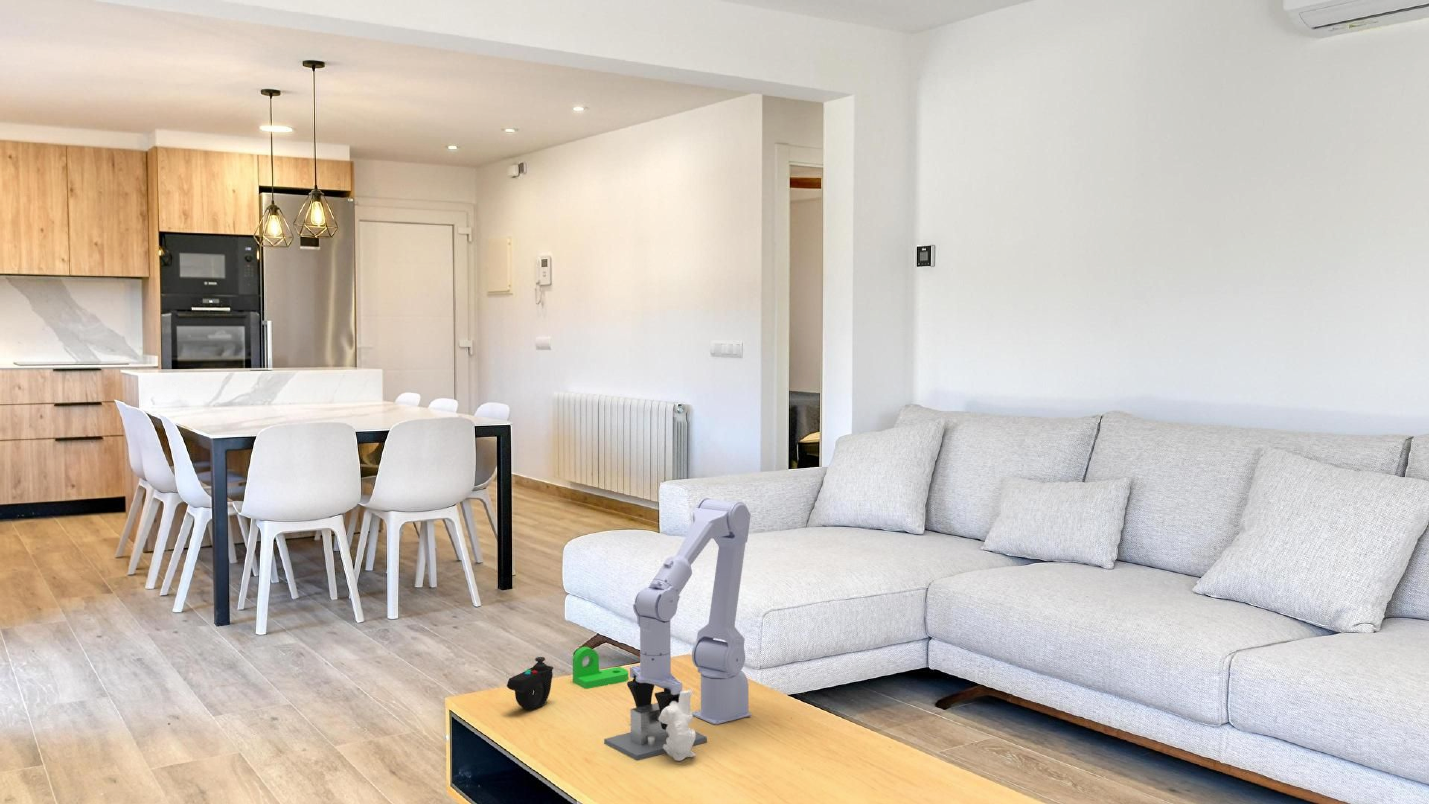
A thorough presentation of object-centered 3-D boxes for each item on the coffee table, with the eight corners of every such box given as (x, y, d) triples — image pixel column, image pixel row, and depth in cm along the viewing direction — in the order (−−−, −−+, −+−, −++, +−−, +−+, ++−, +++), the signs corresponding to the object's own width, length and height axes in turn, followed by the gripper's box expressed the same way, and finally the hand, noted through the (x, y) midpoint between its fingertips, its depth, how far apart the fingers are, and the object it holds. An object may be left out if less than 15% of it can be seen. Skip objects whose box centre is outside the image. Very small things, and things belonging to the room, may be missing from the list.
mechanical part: (585, 691, 254) (585, 654, 253) (572, 684, 259) (572, 648, 258) (633, 681, 260) (633, 646, 260) (619, 675, 265) (619, 640, 265)
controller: (556, 703, 245) (556, 656, 244) (521, 720, 234) (521, 671, 233) (539, 700, 246) (539, 653, 246) (504, 717, 235) (503, 668, 235)
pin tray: (673, 726, 230) (672, 713, 229) (706, 742, 221) (706, 728, 221) (604, 744, 220) (604, 730, 220) (636, 760, 211) (636, 746, 211)
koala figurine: (680, 746, 218) (679, 683, 218) (708, 754, 214) (708, 690, 214) (651, 760, 212) (651, 695, 211) (680, 768, 208) (680, 701, 207)
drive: (669, 730, 224) (669, 699, 224) (680, 735, 222) (680, 704, 221) (630, 740, 219) (630, 709, 219) (641, 745, 216) (641, 713, 216)
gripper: (616, 647, 223) (616, 717, 223) (660, 664, 211) (660, 737, 212) (646, 641, 227) (647, 709, 228) (691, 657, 215) (691, 729, 216)
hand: (655, 722), depth 220 cm, fingers open, 7 cm apart
